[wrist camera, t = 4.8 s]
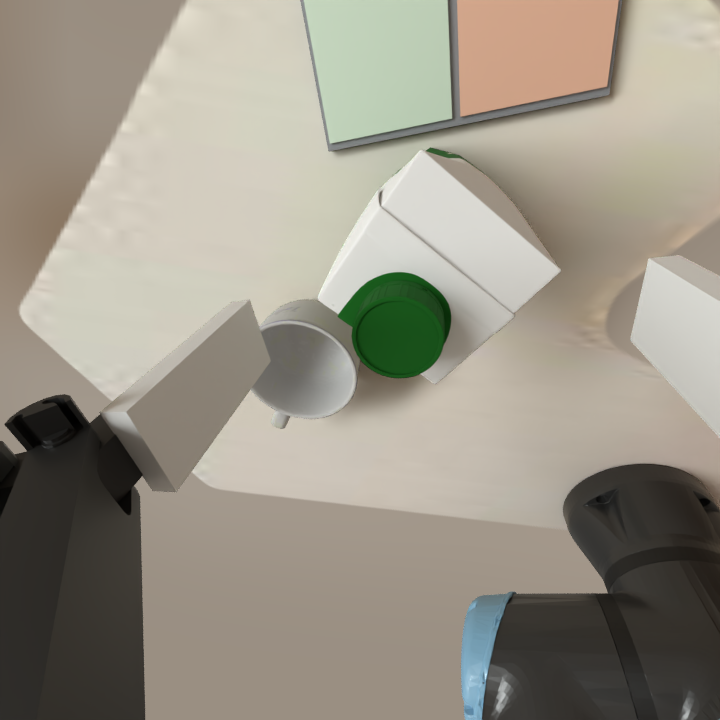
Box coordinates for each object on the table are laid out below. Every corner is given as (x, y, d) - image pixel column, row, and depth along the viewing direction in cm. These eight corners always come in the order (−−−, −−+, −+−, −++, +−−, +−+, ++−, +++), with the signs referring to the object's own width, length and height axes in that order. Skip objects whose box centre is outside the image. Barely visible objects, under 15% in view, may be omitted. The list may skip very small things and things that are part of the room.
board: (604, 96, 25) (610, 94, 24) (331, 151, 30) (327, 151, 29) (640, -177, 19) (650, -192, 19) (293, -55, 24) (287, -62, 23)
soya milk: (363, 224, 33) (284, 318, 16) (430, 126, 28) (418, 115, 11) (438, 283, 34) (437, 425, 18) (513, 200, 30) (610, 285, 13)
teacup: (301, 267, 36) (270, 297, 29) (389, 329, 38) (379, 371, 31) (247, 359, 43) (211, 400, 37) (323, 408, 45) (303, 455, 38)
